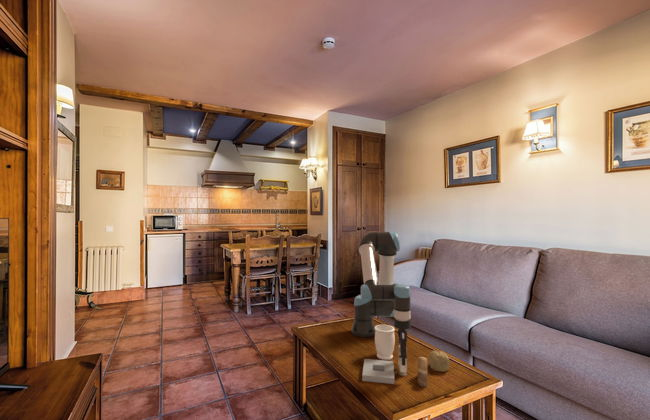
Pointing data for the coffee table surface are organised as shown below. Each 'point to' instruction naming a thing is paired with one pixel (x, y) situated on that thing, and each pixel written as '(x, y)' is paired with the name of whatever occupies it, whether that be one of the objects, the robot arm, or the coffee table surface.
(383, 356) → the jar
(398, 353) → the birch pin
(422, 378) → the walnut pin
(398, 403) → the coffee table surface
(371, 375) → the hole plate
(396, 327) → the robot arm
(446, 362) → the decorative object
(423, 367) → the oak pin
